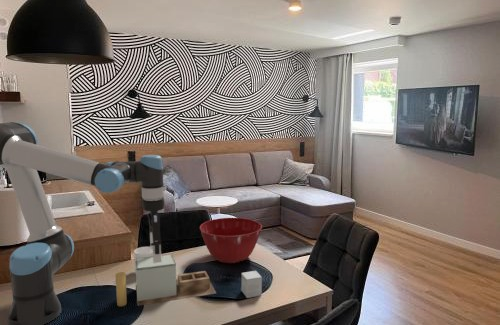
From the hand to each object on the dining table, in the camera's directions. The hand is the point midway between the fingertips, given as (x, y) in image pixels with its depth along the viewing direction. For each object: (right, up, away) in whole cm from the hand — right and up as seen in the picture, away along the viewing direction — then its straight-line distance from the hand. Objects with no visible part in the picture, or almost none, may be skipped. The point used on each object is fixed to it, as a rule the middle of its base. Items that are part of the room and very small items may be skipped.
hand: (155, 255), depth 136 cm
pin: (-10, -16, -6) cm, 20 cm away
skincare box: (+35, -15, +4) cm, 38 cm away
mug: (-7, -13, +20) cm, 25 cm away
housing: (0, -14, +2) cm, 14 cm away
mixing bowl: (+26, -11, +37) cm, 46 cm away
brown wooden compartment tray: (+6, -15, +4) cm, 17 cm away
